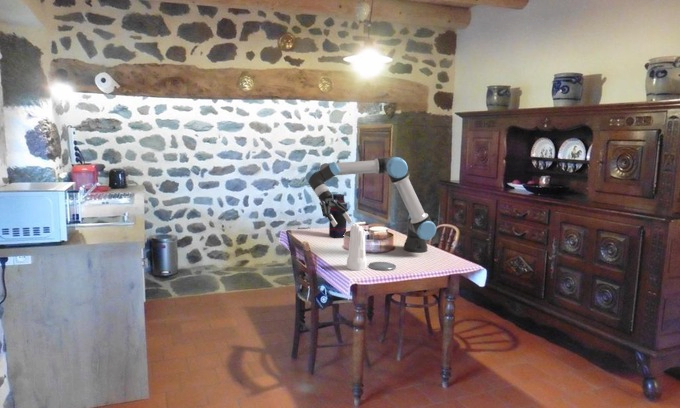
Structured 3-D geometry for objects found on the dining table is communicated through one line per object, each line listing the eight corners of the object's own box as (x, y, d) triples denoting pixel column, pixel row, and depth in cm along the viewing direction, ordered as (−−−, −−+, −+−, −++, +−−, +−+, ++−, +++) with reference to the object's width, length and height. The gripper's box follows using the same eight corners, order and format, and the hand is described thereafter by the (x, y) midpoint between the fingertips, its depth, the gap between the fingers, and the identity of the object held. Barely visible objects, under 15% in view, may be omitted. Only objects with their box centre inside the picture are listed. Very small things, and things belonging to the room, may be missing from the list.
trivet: (378, 261, 280) (378, 260, 280) (400, 266, 271) (400, 265, 271) (363, 266, 268) (363, 265, 268) (386, 272, 259) (386, 270, 259)
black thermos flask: (348, 237, 339) (350, 195, 335) (332, 238, 335) (334, 195, 330) (340, 233, 352) (342, 192, 348) (325, 234, 347) (326, 193, 343)
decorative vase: (355, 263, 274) (357, 220, 270) (370, 268, 266) (372, 223, 263) (342, 267, 266) (344, 222, 262) (357, 271, 258) (358, 225, 255)
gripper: (333, 196, 289) (352, 224, 282) (305, 199, 269) (325, 230, 262) (340, 188, 285) (360, 217, 278) (312, 191, 265) (333, 222, 258)
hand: (343, 223), depth 270 cm, fingers open, 13 cm apart
